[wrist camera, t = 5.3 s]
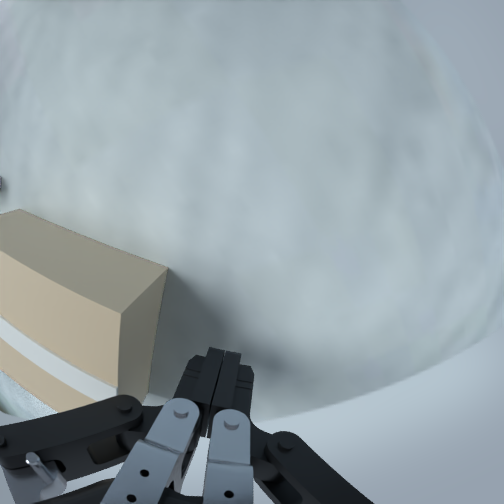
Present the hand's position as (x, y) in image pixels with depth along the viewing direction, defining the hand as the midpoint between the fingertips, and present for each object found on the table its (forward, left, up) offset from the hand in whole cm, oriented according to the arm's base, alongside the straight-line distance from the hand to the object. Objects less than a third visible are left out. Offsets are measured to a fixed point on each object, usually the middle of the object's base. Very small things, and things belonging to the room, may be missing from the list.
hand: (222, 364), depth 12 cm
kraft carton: (0, -9, -2) cm, 10 cm away
